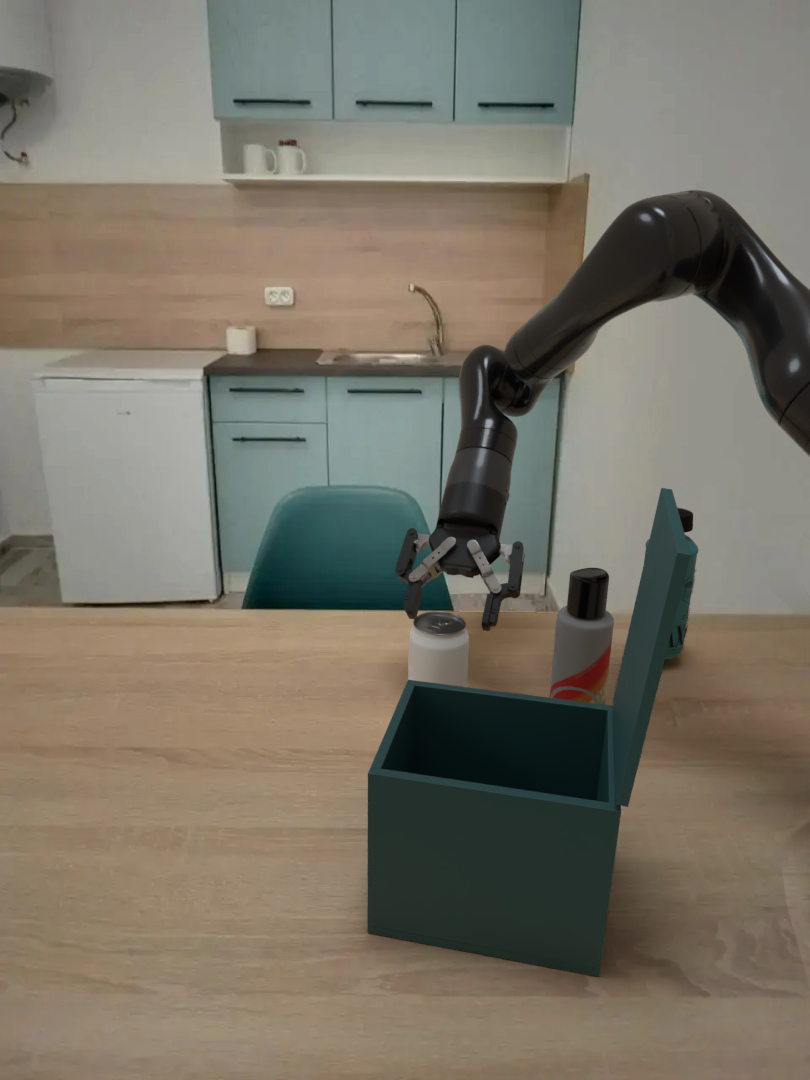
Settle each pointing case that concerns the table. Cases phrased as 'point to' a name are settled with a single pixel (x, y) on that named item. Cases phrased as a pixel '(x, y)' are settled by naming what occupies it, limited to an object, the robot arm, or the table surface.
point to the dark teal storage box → (494, 825)
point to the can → (439, 649)
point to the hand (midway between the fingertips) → (447, 622)
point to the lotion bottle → (583, 640)
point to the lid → (648, 640)
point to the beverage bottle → (683, 591)
